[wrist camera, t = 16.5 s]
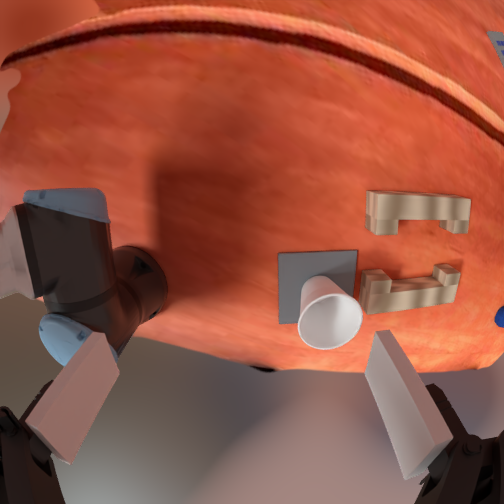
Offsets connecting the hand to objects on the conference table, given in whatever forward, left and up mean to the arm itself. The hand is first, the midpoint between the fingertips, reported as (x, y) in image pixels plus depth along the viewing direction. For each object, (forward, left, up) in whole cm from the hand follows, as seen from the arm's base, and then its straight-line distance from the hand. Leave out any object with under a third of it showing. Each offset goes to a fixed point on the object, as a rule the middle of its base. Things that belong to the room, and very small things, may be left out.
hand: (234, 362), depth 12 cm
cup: (+11, -14, -34) cm, 39 cm away
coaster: (+11, -14, -35) cm, 39 cm away
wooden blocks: (+30, -7, -35) cm, 46 cm away
